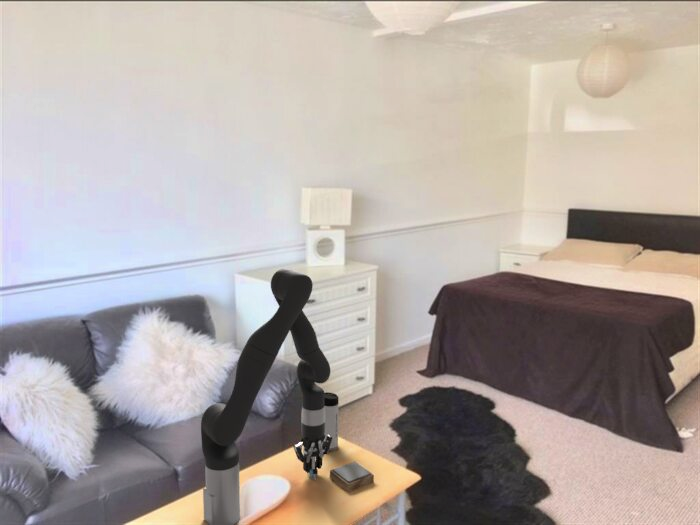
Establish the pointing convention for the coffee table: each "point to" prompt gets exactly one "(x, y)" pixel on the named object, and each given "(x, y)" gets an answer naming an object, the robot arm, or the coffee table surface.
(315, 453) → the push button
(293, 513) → the coffee table surface
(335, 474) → the tray
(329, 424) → the travel mug
